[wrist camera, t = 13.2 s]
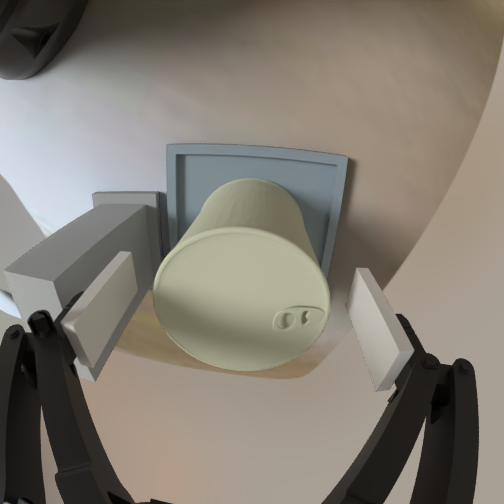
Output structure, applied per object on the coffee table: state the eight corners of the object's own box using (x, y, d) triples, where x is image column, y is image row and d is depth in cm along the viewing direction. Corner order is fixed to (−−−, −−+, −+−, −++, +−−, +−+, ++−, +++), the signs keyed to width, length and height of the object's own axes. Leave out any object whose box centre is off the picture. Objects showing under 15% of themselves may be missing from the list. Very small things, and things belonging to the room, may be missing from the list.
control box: (96, 191, 23) (-15, 258, 10) (159, 191, 23) (54, 272, 10) (109, 279, 27) (38, 373, 14) (166, 286, 27) (108, 400, 14)
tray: (171, 143, 21) (166, 144, 20) (343, 155, 21) (348, 156, 20) (177, 290, 27) (174, 296, 26) (318, 300, 27) (320, 307, 26)
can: (300, 276, 25) (319, 377, 15) (203, 275, 26) (168, 372, 15) (306, 178, 21) (347, 231, 11) (194, 179, 22) (130, 231, 11)
